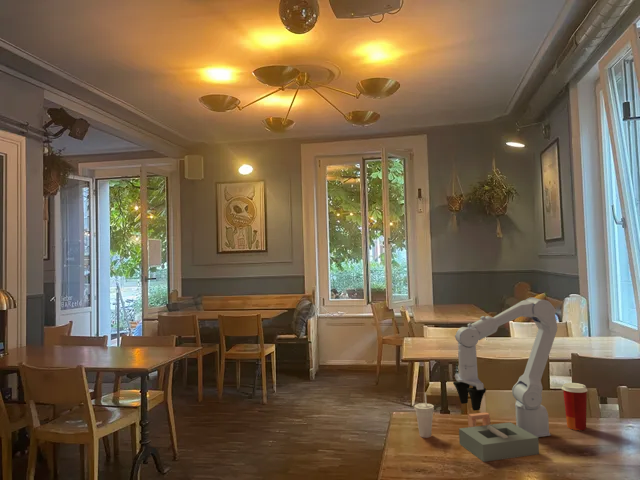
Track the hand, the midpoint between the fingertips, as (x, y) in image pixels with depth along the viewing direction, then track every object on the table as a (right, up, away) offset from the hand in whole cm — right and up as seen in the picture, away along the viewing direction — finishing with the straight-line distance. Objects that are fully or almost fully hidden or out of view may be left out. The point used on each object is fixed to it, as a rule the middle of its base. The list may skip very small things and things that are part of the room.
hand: (470, 406), depth 164 cm
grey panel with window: (+5, -9, -12) cm, 16 cm away
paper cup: (+36, -8, +4) cm, 38 cm away
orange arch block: (+4, -9, +3) cm, 10 cm away
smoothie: (-14, -10, +2) cm, 18 cm away
